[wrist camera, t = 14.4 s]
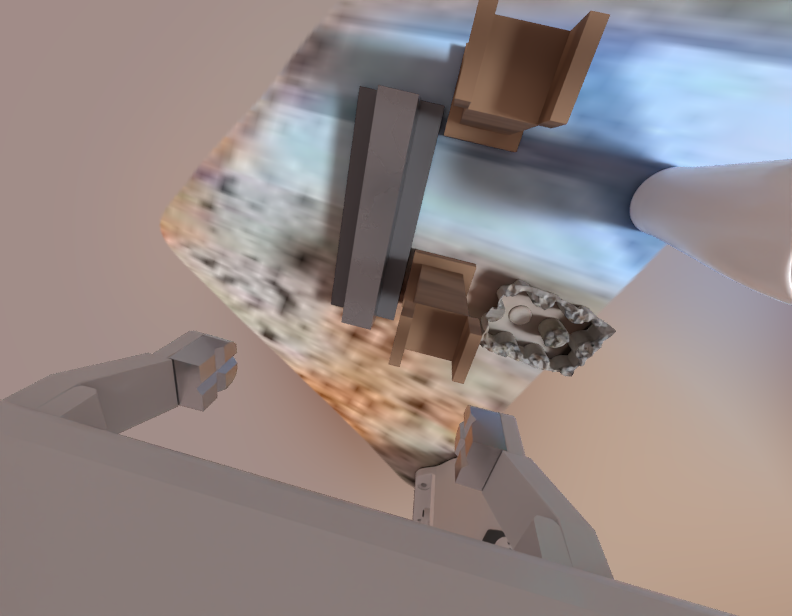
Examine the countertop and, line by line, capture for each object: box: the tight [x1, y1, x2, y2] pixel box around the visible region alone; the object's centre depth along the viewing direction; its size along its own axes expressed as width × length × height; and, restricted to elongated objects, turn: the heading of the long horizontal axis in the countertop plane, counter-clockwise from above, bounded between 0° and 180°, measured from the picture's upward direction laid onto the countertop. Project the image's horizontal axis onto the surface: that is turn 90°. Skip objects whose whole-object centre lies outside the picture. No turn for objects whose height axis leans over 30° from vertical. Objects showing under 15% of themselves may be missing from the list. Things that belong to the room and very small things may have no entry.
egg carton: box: [480, 279, 616, 376], centre depth 31 cm, size 11×8×4 cm
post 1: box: [389, 249, 482, 384], centre depth 27 cm, size 6×6×12 cm
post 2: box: [444, 0, 610, 152], centre depth 20 cm, size 6×6×12 cm
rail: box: [342, 85, 422, 330], centre depth 28 cm, size 20×3×3 cm, turn 168°
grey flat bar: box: [331, 86, 445, 320], centre depth 30 cm, size 20×7×1 cm, turn 168°
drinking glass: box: [630, 159, 792, 305], centre depth 20 cm, size 7×7×15 cm
